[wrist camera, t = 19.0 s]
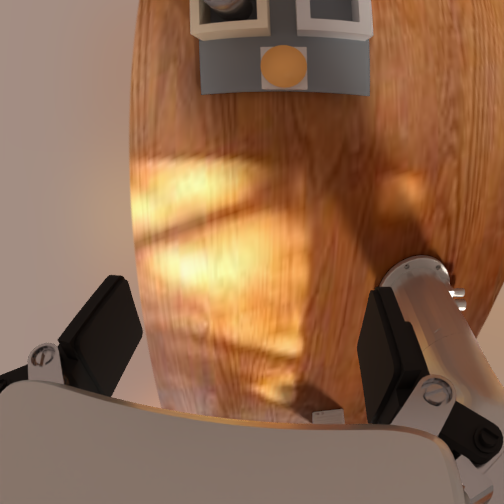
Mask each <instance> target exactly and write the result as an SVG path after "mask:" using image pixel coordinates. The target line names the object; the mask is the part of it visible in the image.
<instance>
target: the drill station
mask: <svg viewBox="0 0 504 504" xmlns="http://www.w3.org/2000/svg"><path fill="white" fill-rule="evenodd" d="M250 1H251V3H252V6H253V10H252V13H251V15H250V17H249V18H248V19H246V20H241V21H228V22H227V21H225V20H224V19H222V18H221V17H220V16H219V15H218V14H217V13H216V12H215V11H214V10H213V9H212V8H211V7H210V6H209V5H208V4H207V3H205V2H204V1H203V0H190V34H191V35H193V36H195V37H197V38H198V39H199V54H200V77H201V95H205V94H218V93H234V92H262V91H296V92H323V93H339V94H352V95H363V96H370V58H369V38H370V37H372V36H373V22H372V8H371V0H250ZM279 45H288V46H291V47H294V48H296V49H297V50H299V51H300V52H301V53H302V54H303V56H304V57H305V59H306V63H307V71H306V74H305V76H304V78H303V79H302V80H301V82H299V83H298V84H297V85H295V86H292V87H288V88H281V87H277V86H275V85H273V84H271V83H269V82H268V81H267V80H266V79H265V78H264V76H263V74H262V72H261V60H262V57H263V55H264V54H265V53H266V52H267V51H268V50H269V49H271V48H272V47H275V46H279Z"/></svg>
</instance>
